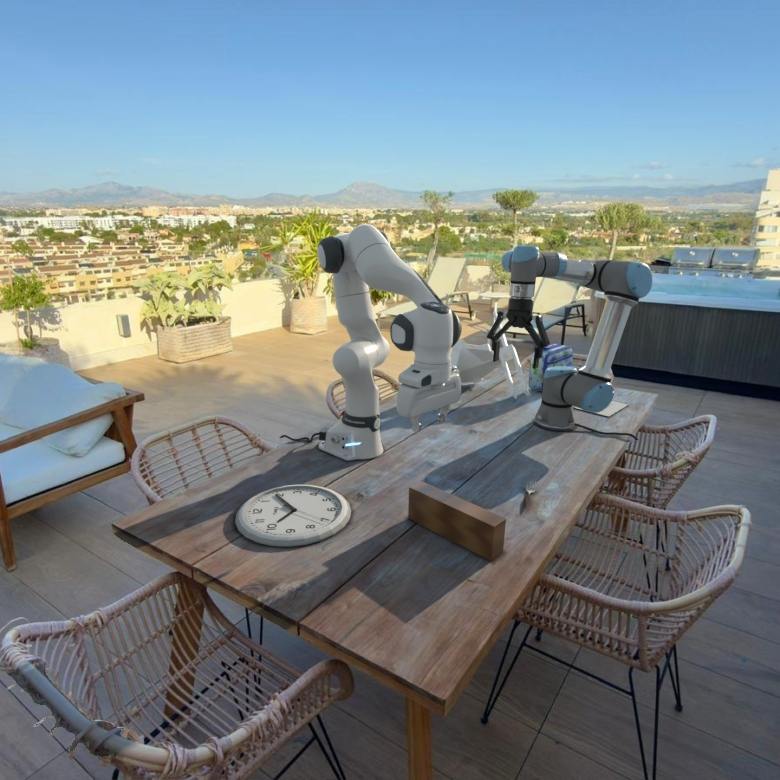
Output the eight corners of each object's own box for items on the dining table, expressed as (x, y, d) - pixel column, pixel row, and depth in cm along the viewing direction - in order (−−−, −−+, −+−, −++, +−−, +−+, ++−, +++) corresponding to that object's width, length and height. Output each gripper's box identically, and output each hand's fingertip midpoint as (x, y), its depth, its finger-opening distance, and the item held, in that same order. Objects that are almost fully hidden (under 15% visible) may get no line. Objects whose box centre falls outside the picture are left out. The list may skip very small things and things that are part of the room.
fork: (520, 510, 142) (521, 503, 141) (526, 484, 156) (527, 478, 155) (530, 512, 141) (531, 505, 140) (535, 486, 155) (536, 480, 154)
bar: (503, 552, 123) (506, 518, 121) (491, 561, 120) (494, 526, 117) (420, 511, 141) (421, 480, 138) (407, 518, 137) (408, 487, 134)
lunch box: (545, 396, 239) (550, 351, 232) (524, 391, 246) (528, 347, 240) (572, 385, 256) (577, 343, 250) (552, 380, 263) (557, 339, 257)
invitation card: (608, 416, 214) (573, 407, 224) (608, 416, 214) (573, 408, 224) (628, 404, 229) (594, 396, 238) (628, 405, 229) (594, 397, 238)
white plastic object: (461, 429, 252) (437, 405, 227) (444, 352, 274) (420, 323, 250) (535, 404, 240) (518, 377, 215) (510, 326, 262) (492, 293, 237)
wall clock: (351, 538, 125) (223, 542, 122) (351, 544, 125) (223, 548, 123) (350, 480, 153) (246, 482, 151) (350, 485, 154) (246, 487, 151)
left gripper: (448, 362, 133) (445, 413, 137) (393, 376, 119) (391, 432, 123) (469, 366, 129) (465, 419, 133) (413, 382, 115) (411, 440, 119)
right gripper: (479, 294, 165) (474, 360, 171) (556, 302, 151) (548, 373, 157) (490, 292, 171) (485, 356, 177) (565, 300, 157) (557, 368, 163)
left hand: (429, 426), depth 128 cm, fingers open, 8 cm apart
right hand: (515, 364), depth 167 cm, fingers open, 13 cm apart
